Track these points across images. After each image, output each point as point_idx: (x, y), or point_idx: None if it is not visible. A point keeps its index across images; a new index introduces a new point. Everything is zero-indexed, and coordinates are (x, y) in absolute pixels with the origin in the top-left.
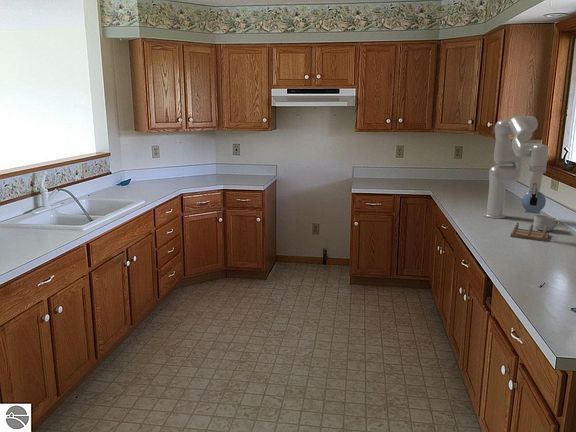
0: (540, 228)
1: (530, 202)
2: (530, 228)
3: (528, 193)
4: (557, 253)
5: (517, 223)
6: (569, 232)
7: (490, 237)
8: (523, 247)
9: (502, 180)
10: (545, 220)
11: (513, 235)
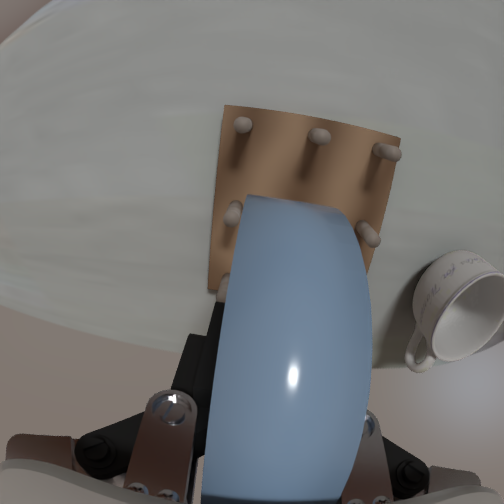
0: (422, 275)
1: (209, 328)
2: None
3: (209, 430)
4: (63, 294)
5: (386, 151)
6: None
7: (165, 16)
8: (60, 182)
9: None
10: (430, 318)
11: (223, 121)
